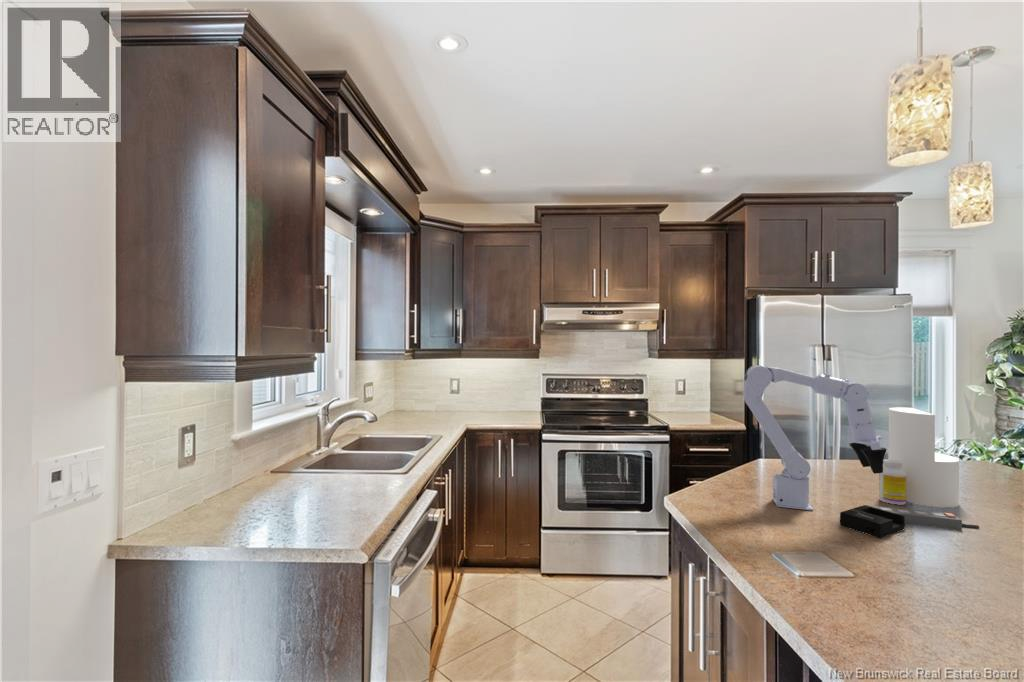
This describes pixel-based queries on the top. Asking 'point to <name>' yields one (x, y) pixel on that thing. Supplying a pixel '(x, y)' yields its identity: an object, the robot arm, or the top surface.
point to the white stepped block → (922, 459)
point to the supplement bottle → (892, 483)
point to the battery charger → (872, 521)
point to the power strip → (928, 518)
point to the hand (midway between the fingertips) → (872, 469)
